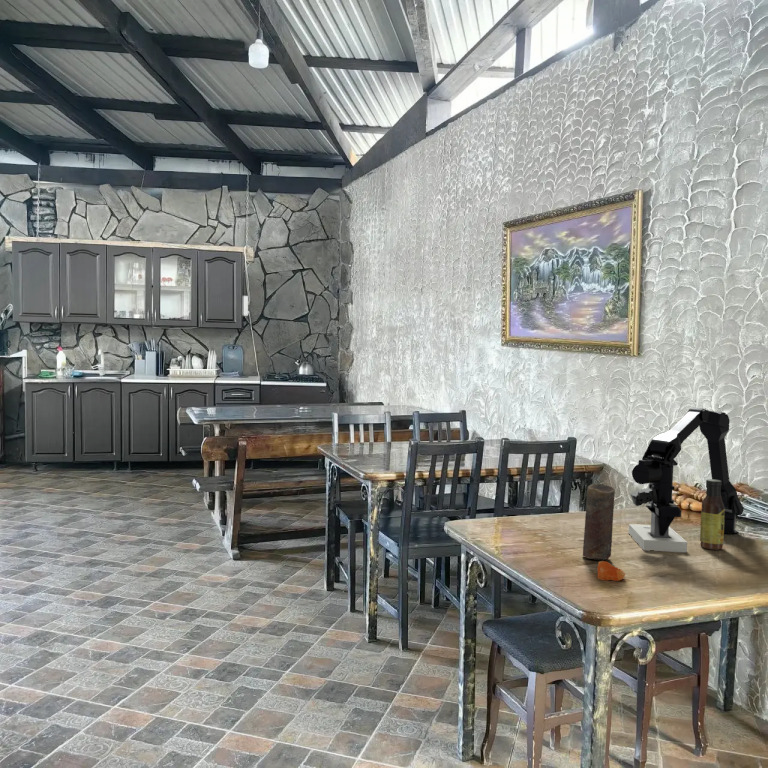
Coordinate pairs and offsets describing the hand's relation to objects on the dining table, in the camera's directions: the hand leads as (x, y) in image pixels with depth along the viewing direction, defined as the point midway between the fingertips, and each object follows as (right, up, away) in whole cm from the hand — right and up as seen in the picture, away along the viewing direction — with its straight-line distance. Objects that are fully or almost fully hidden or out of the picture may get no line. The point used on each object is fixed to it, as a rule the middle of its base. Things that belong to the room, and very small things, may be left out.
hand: (659, 533), depth 206 cm
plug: (0, -2, 0) cm, 2 cm away
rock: (-24, -6, -30) cm, 39 cm away
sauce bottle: (+15, -4, -1) cm, 15 cm away
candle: (-23, -4, -14) cm, 27 cm away
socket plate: (0, -3, +3) cm, 5 cm away
